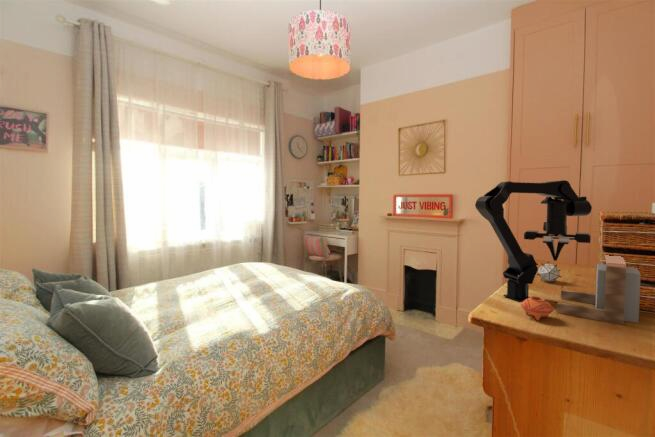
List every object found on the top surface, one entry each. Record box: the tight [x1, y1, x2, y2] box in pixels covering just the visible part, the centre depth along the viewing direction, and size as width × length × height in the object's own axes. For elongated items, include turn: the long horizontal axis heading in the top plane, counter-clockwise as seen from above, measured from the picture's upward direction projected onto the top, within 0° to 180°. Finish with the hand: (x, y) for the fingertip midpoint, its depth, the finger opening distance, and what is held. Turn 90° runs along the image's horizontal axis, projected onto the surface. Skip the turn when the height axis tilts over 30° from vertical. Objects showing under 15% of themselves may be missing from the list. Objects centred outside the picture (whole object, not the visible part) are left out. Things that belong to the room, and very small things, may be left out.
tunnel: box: [556, 254, 627, 325], centre depth 99 cm, size 15×18×17 cm
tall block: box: [594, 263, 642, 324], centre depth 95 cm, size 9×11×14 cm
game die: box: [536, 261, 562, 284], centre depth 131 cm, size 9×8×10 cm
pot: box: [520, 295, 554, 321], centre depth 94 cm, size 8×8×7 cm
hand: (555, 260), depth 112 cm, fingers closed
